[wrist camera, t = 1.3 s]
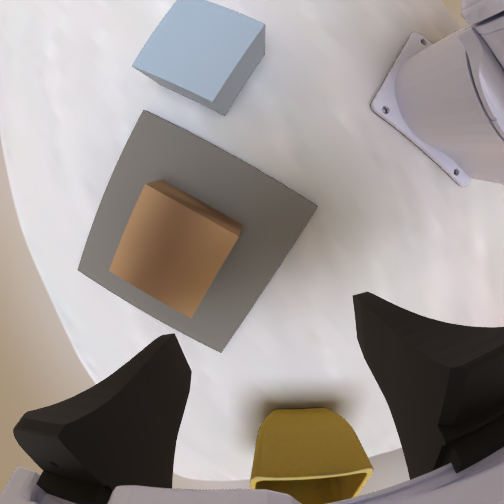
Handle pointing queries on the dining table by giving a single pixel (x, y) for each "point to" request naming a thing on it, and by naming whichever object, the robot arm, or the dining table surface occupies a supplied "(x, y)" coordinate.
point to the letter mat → (214, 195)
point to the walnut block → (174, 246)
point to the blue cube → (203, 52)
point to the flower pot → (309, 456)
